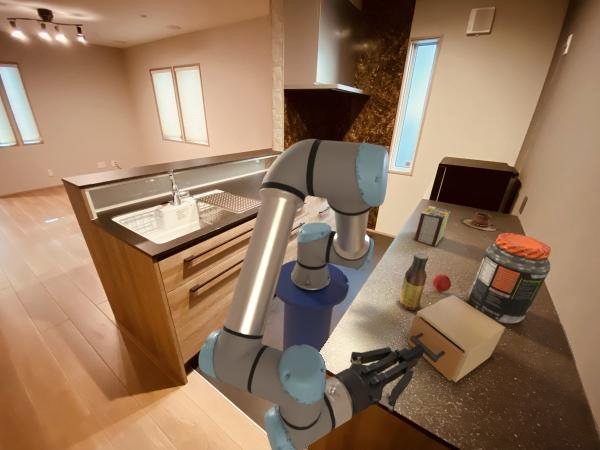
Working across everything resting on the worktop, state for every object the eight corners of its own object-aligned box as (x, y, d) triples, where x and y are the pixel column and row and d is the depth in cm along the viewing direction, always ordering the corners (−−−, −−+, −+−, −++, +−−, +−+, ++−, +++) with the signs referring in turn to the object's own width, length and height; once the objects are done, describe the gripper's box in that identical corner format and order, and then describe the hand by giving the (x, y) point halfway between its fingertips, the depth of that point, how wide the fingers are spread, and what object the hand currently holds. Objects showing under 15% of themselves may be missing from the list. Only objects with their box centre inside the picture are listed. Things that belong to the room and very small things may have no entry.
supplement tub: (513, 301, 88) (546, 237, 78) (530, 333, 75) (572, 260, 65) (463, 288, 94) (487, 226, 84) (470, 315, 81) (500, 246, 70)
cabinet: (455, 382, 60) (469, 351, 55) (408, 339, 71) (417, 311, 66) (490, 356, 67) (505, 327, 62) (442, 321, 78) (452, 294, 73)
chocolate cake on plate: (471, 217, 165) (475, 207, 162) (502, 227, 151) (506, 217, 149) (457, 222, 156) (461, 211, 153) (488, 233, 143) (493, 222, 140)
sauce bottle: (407, 296, 88) (421, 248, 80) (422, 308, 83) (438, 257, 75) (393, 301, 85) (406, 251, 77) (408, 313, 80) (423, 262, 72)
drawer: (438, 389, 57) (449, 363, 53) (395, 347, 67) (403, 322, 63) (482, 357, 66) (495, 332, 62) (439, 323, 76) (447, 301, 72)
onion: (430, 284, 95) (436, 267, 92) (447, 289, 93) (453, 271, 90) (430, 293, 90) (436, 275, 87) (448, 298, 88) (455, 280, 85)
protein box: (442, 237, 135) (450, 210, 129) (435, 246, 124) (443, 218, 118) (422, 231, 141) (429, 205, 135) (413, 239, 130) (420, 212, 124)
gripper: (368, 417, 42) (451, 362, 53) (325, 356, 53) (402, 320, 63) (361, 441, 45) (441, 384, 56) (322, 379, 56) (396, 341, 66)
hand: (420, 350), depth 59 cm, fingers closed
